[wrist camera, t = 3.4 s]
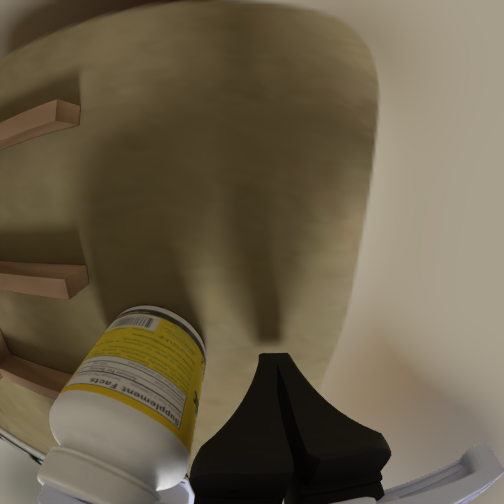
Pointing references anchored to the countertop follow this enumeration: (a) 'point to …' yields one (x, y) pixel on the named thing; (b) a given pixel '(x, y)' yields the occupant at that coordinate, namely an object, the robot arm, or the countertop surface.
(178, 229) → the countertop surface
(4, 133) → the rack
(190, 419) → the supplement bottle
